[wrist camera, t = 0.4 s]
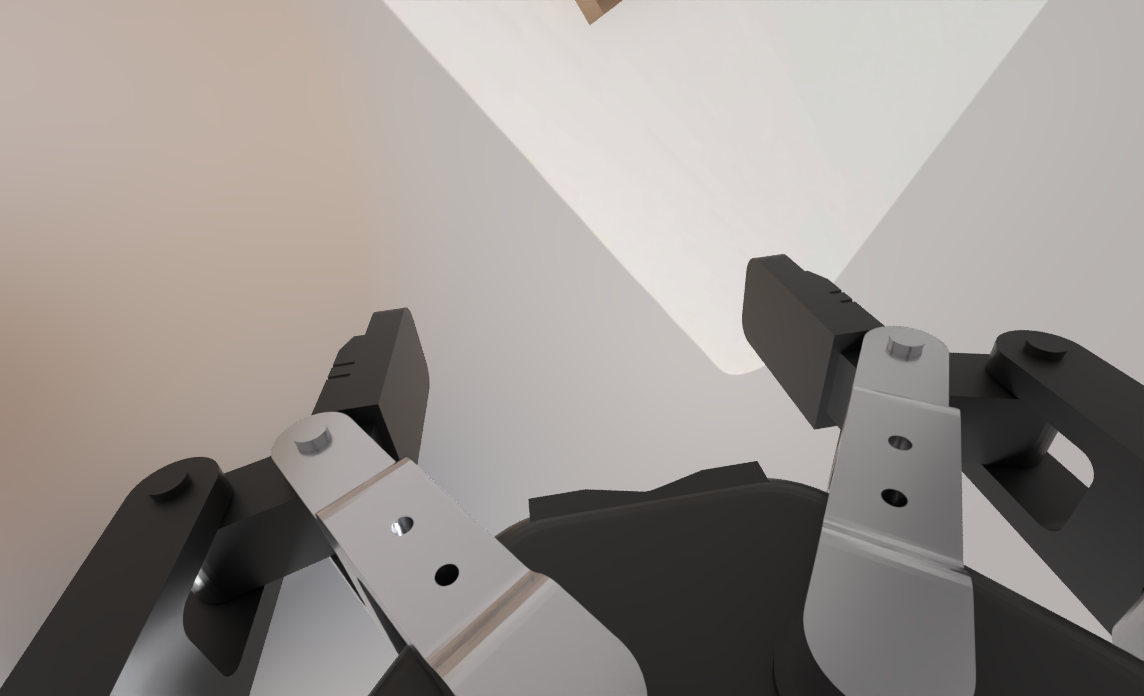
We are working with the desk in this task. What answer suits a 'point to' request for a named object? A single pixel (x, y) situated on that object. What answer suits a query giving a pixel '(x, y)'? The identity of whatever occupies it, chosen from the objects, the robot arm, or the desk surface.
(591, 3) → the wooden tray
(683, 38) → the desk surface
